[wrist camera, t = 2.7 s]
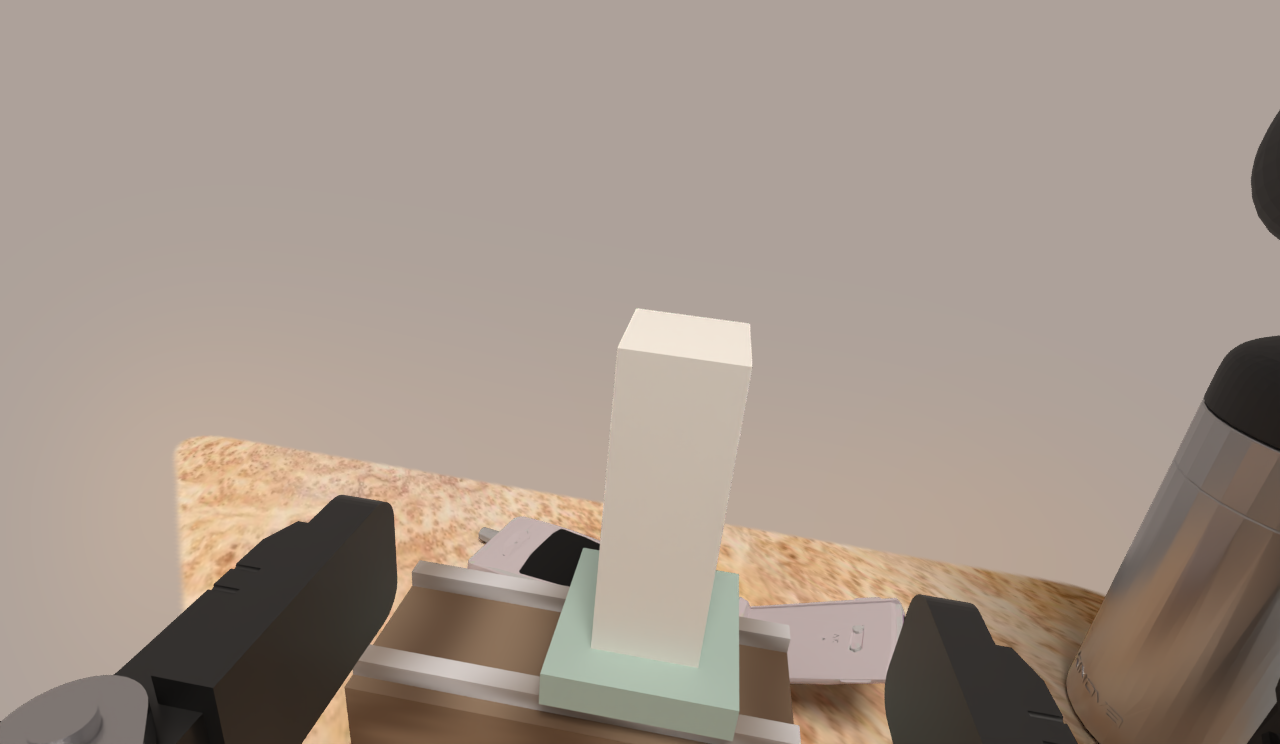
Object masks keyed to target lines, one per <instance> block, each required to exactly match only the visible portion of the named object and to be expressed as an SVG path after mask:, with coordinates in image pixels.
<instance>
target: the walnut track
mask: <svg viewBox="0 0 1280 744" xmlns="http://www.w3.org/2000/svg"><path fill="white" fill-rule="evenodd" d="M412 585H413V586H412V587H411V589H410V590H409V592H408V593H407V595H406V596H405V598H404V599H403V601H402V602H401V604H400V605H399V607H398V608H397V610H396V611H395V613H394V614H393V616H392V617H391V619H390V620H389V622H388V623H387V625H386V626H385V628H384V629H383V631H382V632H381V634H380V635H379V637H378V638H377V640H376V641H375V643H374V644H373V645H370V644H369V646H368V647H367V649H366V650H365V651H364V653H363V654H362V656H361V657H360V659H359V660H358V662H357V663H356V665H355V666H354V668H353V675H352V677H351V678H350V680H349V681H348V683H347V684H346V686H345V695H346V703H347V712H348V720H349V728H350V737H351V744H801V738H800V728H799V725H794V723H793V712H792V701H791V690H790V679H789V668H788V657H787V651H788V647H789V643H790V639H791V638H790V628H789V625H785V624H780V623H774V622H768V621H763V620H757V619H751V618H745V617H740V616H739V715H738V719H737V724H736V728H735V733H734V737H733V741H729V740H723V739H718V738H713V737H708V736H703V735H697V734H692V733H687V732H682V731H677V730H671V729H666V728H661V727H656V726H651V725H646V724H640V723H635V722H630V721H625V720H620V719H614V718H609V717H604V716H599V715H594V714H588V713H583V712H578V711H573V710H568V709H563V708H557V707H552V706H547V705H542V704H539V688H540V673H541V670H542V667H543V664H544V661H545V658H546V655H547V652H548V649H549V646H550V644H551V641H552V638H553V635H554V632H555V629H556V626H557V623H558V620H559V617H560V614H561V612H562V609H563V606H564V603H565V600H566V597H567V594H568V591H569V588H570V587H569V586H563V585H557V584H552V583H546V582H540V581H535V580H529V579H523V578H518V577H512V576H506V575H501V574H495V573H489V572H483V571H478V570H472V569H466V568H461V567H455V566H449V565H444V564H438V563H432V562H426V561H421V560H420V561H419V562H418V564H417V565H416V566H415V568H414V569H413V571H412Z"/></svg>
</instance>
